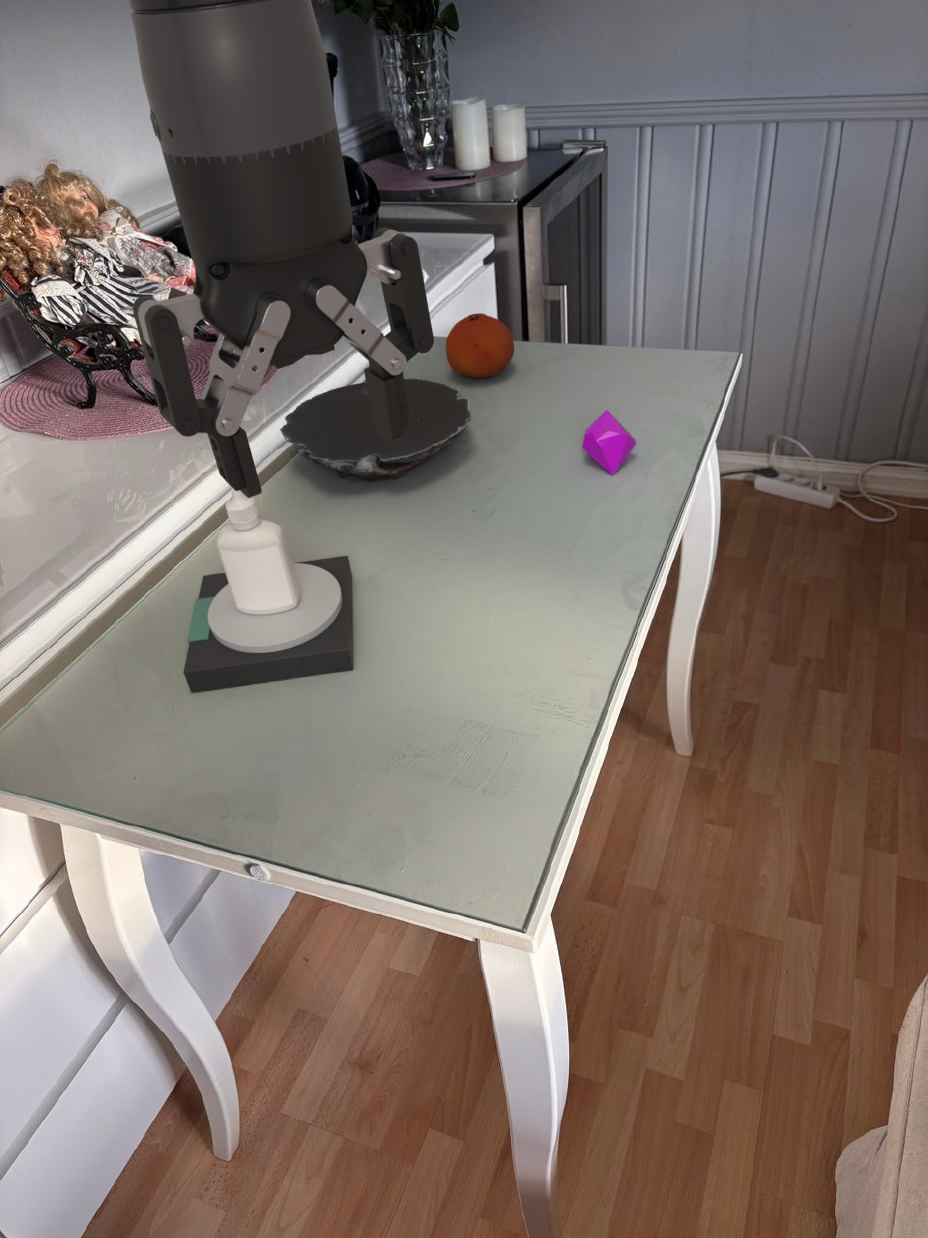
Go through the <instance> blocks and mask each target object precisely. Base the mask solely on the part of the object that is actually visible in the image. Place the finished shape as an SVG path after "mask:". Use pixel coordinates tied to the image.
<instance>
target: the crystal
mask: <svg viewBox="0 0 928 1238" xmlns="http://www.w3.org/2000/svg"><path fill="white" fill-rule="evenodd" d="M581 445H582V446H581V449H582V450H583V451H585V452H586V453H587V454H588V455H589V456H590V457H591V458H592V459H593V460H595V462H597V463H598V464H599V465H600V466H601V467H603V468H604V469H605V470H606V471H607V472H608V474H610V475H611V476H614V475H615V473H616V472H617V470H618V469H619V468H620V467H621V466H622V464H623V463H624V461H625V460H626V458H627V457H628V456H629V455H630V453H631V452H632V451H633V450H634V448H635V447H636V445H637V440H636V439H635V437H634V436H633V435H632V434H631V433H630V432H629V431H628V430H627V429H626V428H625V427H624V426H623V425H622V424H621V422H619V420H617V418H615V416H613V414H612V413H611V412H610V411H609V410H608V409H606V410H605V411H603V413H601V415H599V417H597V418H596V419H595V420H594V421H593V422H592V423H591V424H589V426H587V428H586V429H585V432H584V436H583V440H582V444H581Z"/></svg>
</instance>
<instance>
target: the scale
mask: <svg viewBox="0 0 928 1238" xmlns="http://www.w3.org/2000/svg"><path fill="white" fill-rule="evenodd" d="M292 564H293V567H294V571H295V575H296V579H297V582H298V586H299V590H300V596H299V600H298V604H297V605H296V607H294V608H293V609H290V610H287V611H283V612H279V613H274V614H265V615H257V614H248V613H243V612H241V611H239V610H238V609H237V607H236V604H235V601H234V598H233V595H232V592H231V589H230V586H229V583H228V580H227V577H226V573H225V572H219V573H213V574H206V575H202V578H201V584H200V588H199V594H198V597H197V598H196V600H195V603H194V607H193V613H192V617H191V622H190V628H189V632H188V637H187V643H188V648H187V653H186V658H185V663H184V666H183V672H182V673H183V675H184V678H185V681H186V683H187V686H188V688H189V691H190V693H191V694H194V693H199V692H201V693H202V692H206V691H207V692H208V691H213V690H214V691H215V690H222V689H229V688H235V687H242V686H250V685H256V684H263V683H264V684H265V683H270V682H277V681H284V680H292V679H298V678H306V677H312V676H319V675H326V674H327V675H328V674H333V673H339V672H341V673H342V672H347V671H348V672H349V671H353V670H354V624H353V622H354V621H353V620H354V619H353V613H354V612H353V574H352V570H351V565H350V560H349V556H348V555H341V556H335V557H326V558H320V559H319V558H318V559H313V560H306V561H299V562H292Z"/></svg>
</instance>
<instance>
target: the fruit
mask: <svg viewBox="0 0 928 1238" xmlns="http://www.w3.org/2000/svg"><path fill="white" fill-rule="evenodd" d="M514 353H515V342H514V339H513V336H512V333H511V331H510V330H509V328H508V327H507V326H506V324H504V323H503V322H502V321H500V320H499V319H498V318H495V317H493V316H491V315H487V314H485V313H483V312H482V313H481V312H480V313H470V314H469V315H467V316H466V317H464V318H462V319H460V320H459V321H457V322H456V323H455V324H454V325H453V326H452V328H451V330H450V331H449V333H448V334H447V337H446V340H445V355H446V360H447V362H448V365H449V367H450V368H451V369H452V370H453V371H454V372H455V373H457V374H459V375H461V376H464V377H468V378H472V379H484V378H491V377H494V376H495V375H497V374H499V373H500V372H502V371H503V370H504V369H505V368H506V367H507V366H508V365H509V364H510V362H511V361H512V360H513V357H514Z"/></svg>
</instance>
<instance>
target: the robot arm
mask: <svg viewBox="0 0 928 1238" xmlns="http://www.w3.org/2000/svg"><path fill="white" fill-rule="evenodd" d="M126 1H127V5H128V8H129V9H130V10H131V11H132V12H131V15H130V16H131V20H132V24H133V29H134V33H135V40H136V45H137V54H138V59H139V60H138V61H139V66H140V72H141V78H142V82H143V86H144V91H145V95H146V98H147V101H148V105H149V113H150V114H149V118H150V123H151V126H152V129H153V132H154V133H153V134H154V135H155V137H156V138H157V140H158V142H159V145H160V148H161V152H162V155H163V159H164V163H165V166H166V170H167V174H168V177H169V181H170V185H171V188H172V191H173V195H174V198H175V202H176V207H177V210H178V213H179V217H180V221H181V224H182V227H183V231H184V236H185V239H186V243H187V246H188V249H189V253H190V257H191V259H192V263H193V266H194V273H195V274H194V275H195V277H194V278H195V279H194V286H193V291H192V293H189V294H185V295H179V296H176V297H171V298H166V299H162V300H157V299H156V298H154V297H153V296H150V295H141V296H139V297H137V298H136V299H135V301H134V302H133V303H132V304H133V305H132V314H133V317H134V321H135V325H136V328H137V332H138V336H139V340H140V344H141V347H142V350H143V354H144V359H145V362H146V366H147V369H148V373H149V378H150V381H151V385H152V389H153V392H154V397H155V400H156V404H157V407H158V411H159V414H160V415H161V417H162V418H163V419H165V420H166V422H167V423H168V424H170V425H171V426H172V428H174V430H175V431H177V432H178V434H180V435H181V436H183V437H185V438H187V437H189V438H190V437H193V436H195V435H197V434H207V437H208V441H209V444H210V447H211V450H212V454H213V456H214V460H215V463H216V466H217V471H218V473H219V475H220V476H221V478H222V479H223V480H224V481H225V482H226V483H227V484H228V485H229V486H230V487H231V488H233V489H234V490H235V491H236V492H237V491H239V490H240V491H241V492H242V493H243V494H244V495H245V496H246V497H248V498H251V497H253V498H254V497H256V496H259V495H261V494H262V493H263V491H262V486H261V483H260V479H259V475H258V471H257V467H256V464H255V461H254V455H253V453H252V450H251V446H250V443H249V438H248V434H247V432H246V430H245V429H244V428H242V426H241V424H242V422H243V420H244V419H243V418H244V416H245V414H246V410H247V408H248V406H249V403H250V400H251V398H252V397H253V396H255V395H256V394H258V392H259V391H260V388H261V386H262V384H263V382H264V379H265V376H266V374H267V372H268V368H269V367H275V368H276V369H277V370H280V369H283V368H286V367H288V366H292V365H294V364H295V363H297V362H298V361H300V360H301V359H303V358H305V356H316V355H317V356H320V355H324V354H327V353H330V352H332V351H333V352H334V351H335V350H336V349H335V345H336V344H337V343H338V342H339V341H340V340H341V339H342V340H344V341H345V342H346V343H347V344H349V345H350V346H351V347H352V348H353V349H354V350H355V351H356V352H357V353H359V354H360V356H362V357H363V358H364V359H365V360H367V362H368V365H369V366H368V367H365V368H363V372H364V378H365V382H366V385H367V390H368V396H369V402H370V408H371V413H372V419H373V425H374V428H375V430H376V431H377V433H378V434H379V435H381V436H382V437H384V438H385V439H387V440H388V441H389V442H394V441H396V440H399V439H401V438H403V437H404V431H403V427H404V426H407V425H408V420H409V410H408V406H407V405H408V403H407V399H406V398H407V397H406V390H405V383H404V379H405V377H404V372H405V369H406V367H407V363H408V362H409V361H410V360H411V359H413V358H414V357H415V356H416V355H417V354H427V353H429V352H430V351H431V349H432V348H433V346H434V343H435V336H434V332H433V325H432V320H431V319H432V318H431V314H430V308H429V303H428V296H427V291H426V286H425V279H424V273H423V268H422V263H421V257H420V251H419V245H418V242H417V241H416V239H415V238H413V237H412V236H409V235H406V234H404V233H403V232H400V231H398V230H394V229H390V228H388V227H380V228H378V229H376V230H375V232H374V233H373V236H372V239H370V240H367V241H364V242H361V243H357V241H356V239H355V236H354V233H353V221H354V219H353V218H354V217H353V213H352V206H351V205H352V204H351V199H350V194H349V187H348V181H347V175H346V170H345V164H344V155H343V151H342V146H341V139H340V131H339V127H338V121H337V116H336V110H335V103H334V96H333V90H332V84H331V83H332V82H331V78H330V72H329V71H330V70H329V66H328V61H327V55H326V50H325V46H324V43H323V39H322V35H321V32H320V29H319V26H318V22H317V19H316V15H315V12H314V8H313V7H314V6H313V3H312V0H126ZM368 269H369V272H370V275H371V276H372V278H374V279H375V280H377V281H379V282H380V285H381V290H382V294H383V295H382V296H383V299H384V305H385V310H386V314H387V319H388V323H389V328H390V331H388V332H387V333H386V334H384V333H383V332H382V331H381V330H380V329H379V328H378V327H377V326H376V325H374V323H372V322H371V320H369V319H368V318H367V317H366V316H365V315H364V314H363V312H361V311H360V310H359V309H357V308H356V303H357V301H358V299H359V297H360V293H361V291H362V288H363V286H364V283H365V280H366V278H367V275H368ZM201 320H203V321H205V322H206V323H207V324H208V325H209V326H211V327H212V328H213V329H214V330H215V331H217V332H218V333H219V335H218V338H217V340H216V342H215V345H214V348H213V351H212V354H211V356H210V359H209V363H208V368H209V373H208V377H207V380H206V383H205V385H204V388H203V391H202V394H201V397H200V398H197V397H196V393H195V389H194V385H193V380H192V376H191V373H190V368H189V363H188V360H187V355H186V351H185V350H187V349H189V348H190V347H191V346H192V345H193V344H194V340H195V327H196V325H197V324H198V323H199V322H200V321H201Z"/></svg>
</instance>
